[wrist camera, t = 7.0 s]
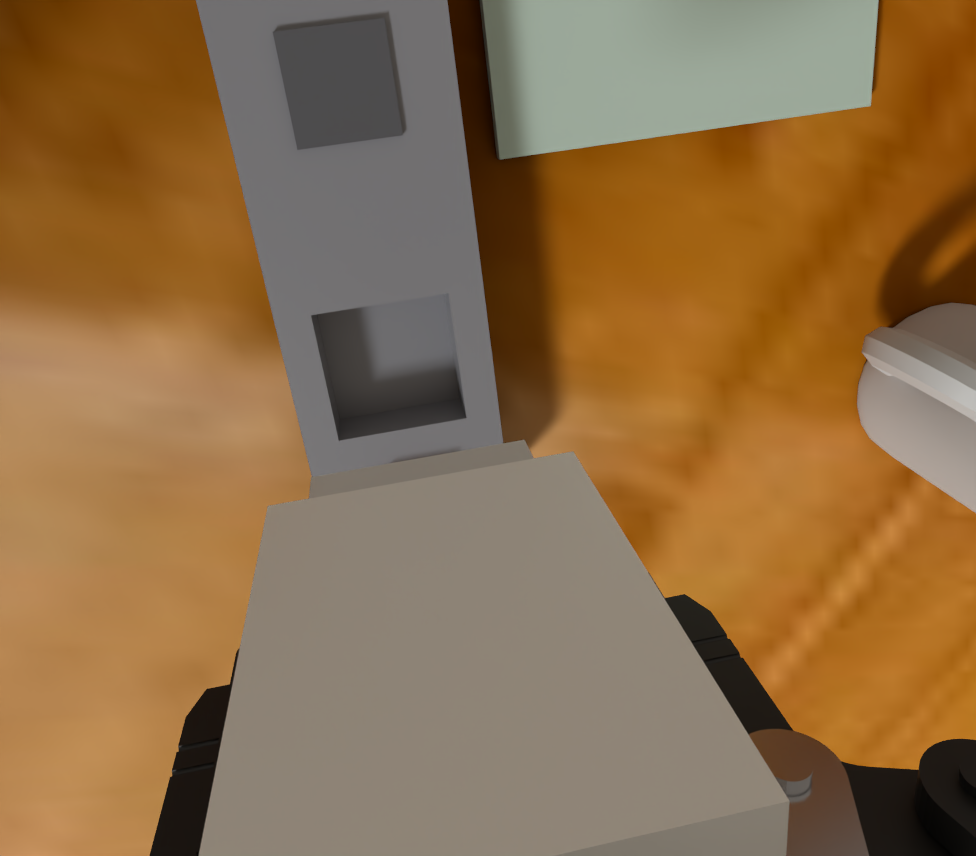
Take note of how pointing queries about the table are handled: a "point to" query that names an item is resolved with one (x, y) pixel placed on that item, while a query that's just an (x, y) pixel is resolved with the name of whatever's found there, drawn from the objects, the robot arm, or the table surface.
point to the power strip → (361, 221)
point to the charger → (474, 681)
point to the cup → (925, 396)
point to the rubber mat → (667, 66)
